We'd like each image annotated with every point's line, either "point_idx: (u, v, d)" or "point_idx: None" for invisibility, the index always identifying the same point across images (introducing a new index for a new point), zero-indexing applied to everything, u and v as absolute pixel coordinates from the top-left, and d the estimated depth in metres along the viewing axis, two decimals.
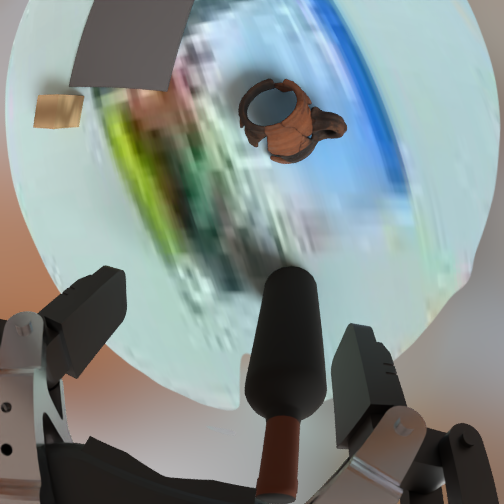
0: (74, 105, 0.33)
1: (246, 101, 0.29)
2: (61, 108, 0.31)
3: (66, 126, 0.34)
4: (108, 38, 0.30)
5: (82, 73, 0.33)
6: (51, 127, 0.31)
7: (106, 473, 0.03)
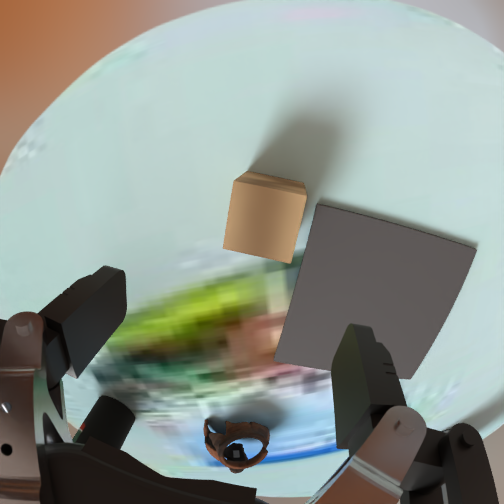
0: None
1: None
2: None
3: None
4: (379, 283, 0.27)
5: (334, 237, 0.26)
6: (226, 242, 0.21)
7: (106, 473, 0.03)
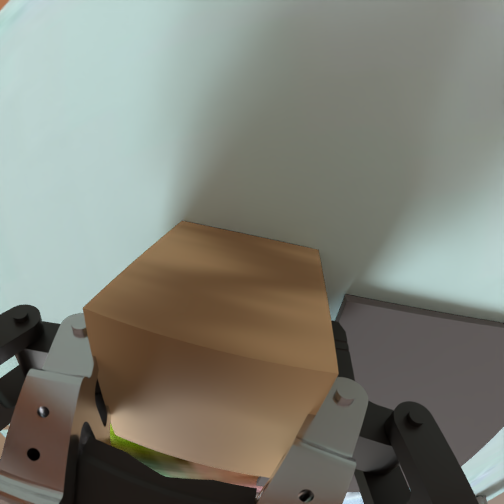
0: None
1: None
2: None
3: None
4: (433, 411, 0.12)
5: (373, 359, 0.11)
6: (117, 428, 0.07)
7: (106, 473, 0.03)
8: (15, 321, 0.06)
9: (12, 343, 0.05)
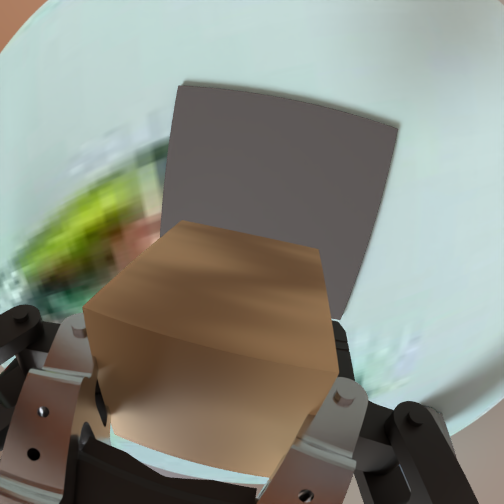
0: None
1: None
2: None
3: None
4: (260, 169, 0.23)
5: (198, 116, 0.22)
6: (117, 428, 0.07)
7: (106, 473, 0.03)
8: (15, 321, 0.06)
9: (12, 343, 0.05)
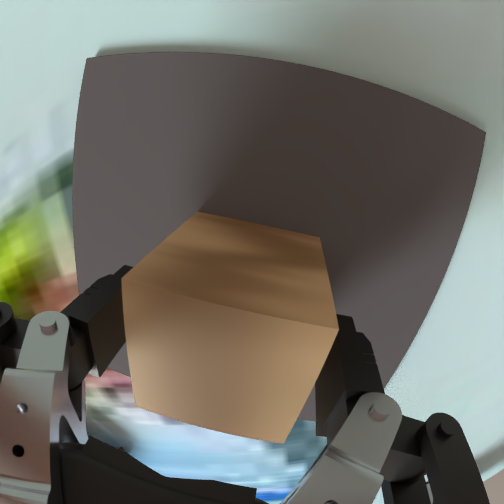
0: None
1: None
2: None
3: None
4: (228, 205, 0.12)
5: (114, 108, 0.11)
6: (139, 398, 0.08)
7: (106, 473, 0.03)
8: None
9: None
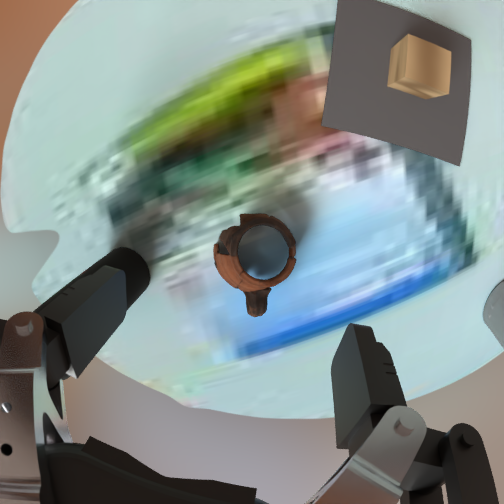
0: (420, 93, 0.24)
1: (266, 224, 0.31)
2: (427, 88, 0.22)
3: (397, 82, 0.23)
4: None
5: (356, 11, 0.23)
6: (407, 72, 0.21)
7: (106, 473, 0.03)
8: None
9: None
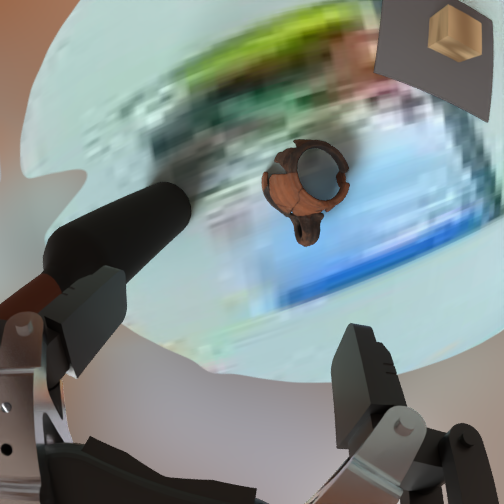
0: (456, 54, 0.23)
1: (322, 147, 0.29)
2: (464, 48, 0.20)
3: (439, 42, 0.22)
4: None
5: None
6: (449, 32, 0.19)
7: (106, 473, 0.03)
8: None
9: None
